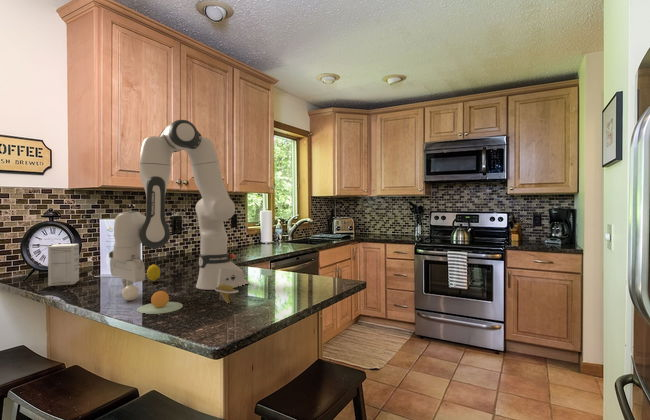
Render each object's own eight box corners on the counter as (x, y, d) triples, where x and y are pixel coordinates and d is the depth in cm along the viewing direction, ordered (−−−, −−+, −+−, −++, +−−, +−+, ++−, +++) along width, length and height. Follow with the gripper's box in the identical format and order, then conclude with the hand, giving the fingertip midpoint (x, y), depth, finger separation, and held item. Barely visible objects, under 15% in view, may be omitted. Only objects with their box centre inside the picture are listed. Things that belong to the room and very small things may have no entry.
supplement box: (79, 280, 160) (80, 243, 160) (74, 284, 152) (75, 245, 152) (53, 281, 156) (54, 243, 156) (47, 286, 148) (47, 246, 148)
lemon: (162, 280, 162) (162, 263, 162) (155, 283, 157) (155, 265, 157) (151, 280, 163) (151, 262, 163) (143, 282, 157) (144, 264, 157)
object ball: (174, 299, 120) (167, 306, 123) (166, 285, 121) (159, 293, 124) (160, 305, 116) (153, 313, 118) (152, 291, 116) (145, 299, 119)
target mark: (173, 300, 129) (173, 299, 129) (189, 308, 119) (189, 307, 119) (131, 307, 119) (131, 306, 119) (144, 316, 109) (144, 316, 109)
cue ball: (139, 283, 127) (144, 296, 129) (131, 281, 131) (136, 294, 132) (123, 290, 123) (129, 304, 125) (116, 288, 127) (122, 302, 128)
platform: (230, 311, 118) (230, 291, 118) (194, 303, 127) (195, 285, 127) (255, 303, 128) (255, 285, 128) (220, 296, 137) (220, 279, 137)
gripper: (149, 255, 130) (149, 293, 130) (123, 251, 142) (123, 285, 142) (132, 257, 125) (132, 296, 125) (106, 252, 137) (106, 288, 137)
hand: (127, 290), depth 133 cm, fingers closed
